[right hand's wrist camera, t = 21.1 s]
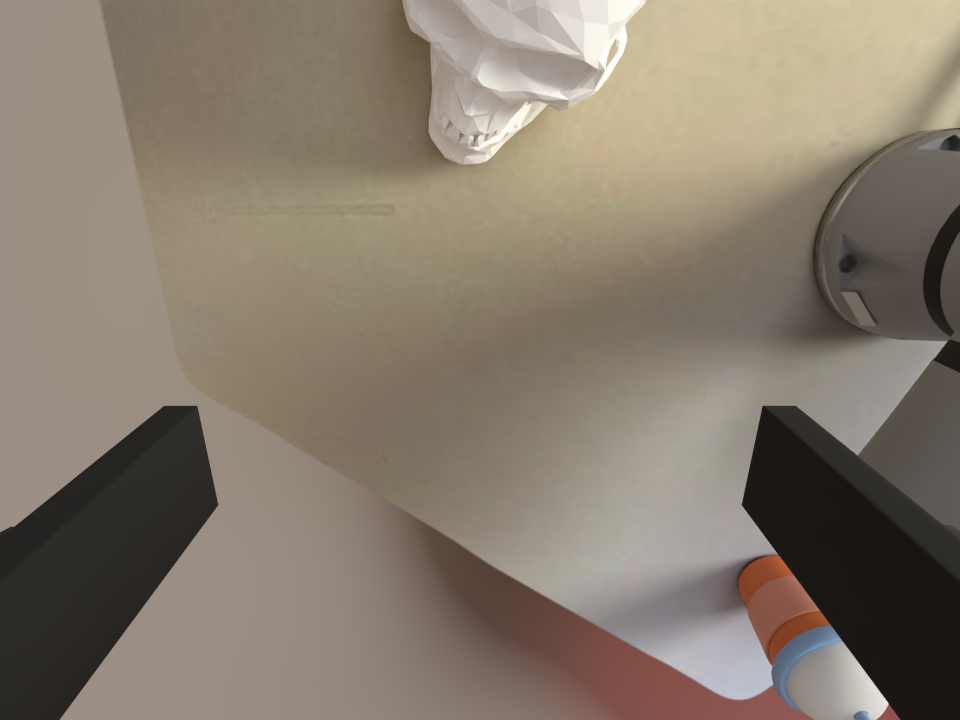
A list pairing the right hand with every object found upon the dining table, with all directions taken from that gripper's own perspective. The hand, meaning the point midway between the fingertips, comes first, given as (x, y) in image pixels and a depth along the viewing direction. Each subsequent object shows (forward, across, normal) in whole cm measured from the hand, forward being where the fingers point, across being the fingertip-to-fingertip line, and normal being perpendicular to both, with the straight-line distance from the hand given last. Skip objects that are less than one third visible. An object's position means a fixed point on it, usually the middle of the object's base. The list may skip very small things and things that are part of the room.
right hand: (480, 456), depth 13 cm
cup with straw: (+31, +28, -33) cm, 53 cm away
